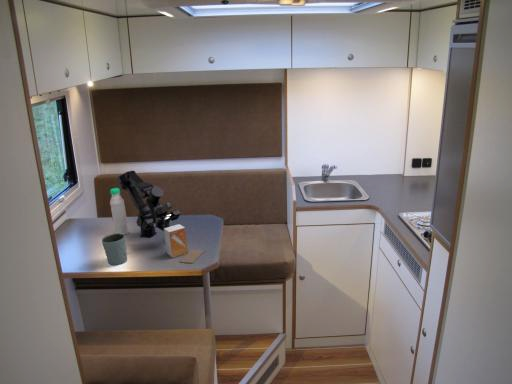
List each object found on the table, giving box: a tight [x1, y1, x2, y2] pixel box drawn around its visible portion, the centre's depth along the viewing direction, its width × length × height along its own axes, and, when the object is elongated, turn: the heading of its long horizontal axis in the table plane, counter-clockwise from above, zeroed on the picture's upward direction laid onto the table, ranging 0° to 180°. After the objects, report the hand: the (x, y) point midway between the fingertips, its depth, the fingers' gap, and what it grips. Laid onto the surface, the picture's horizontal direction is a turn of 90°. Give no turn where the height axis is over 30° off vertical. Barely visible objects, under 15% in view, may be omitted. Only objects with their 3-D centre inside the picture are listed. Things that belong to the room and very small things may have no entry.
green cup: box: [101, 233, 128, 267], centre depth 199 cm, size 10×10×12 cm
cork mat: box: [178, 249, 205, 265], centre depth 200 cm, size 6×12×1 cm, turn 162°
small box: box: [163, 223, 189, 258], centre depth 202 cm, size 8×6×13 cm
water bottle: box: [109, 187, 130, 236], centre depth 229 cm, size 7×7×25 cm
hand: (169, 234), depth 207 cm, fingers closed
